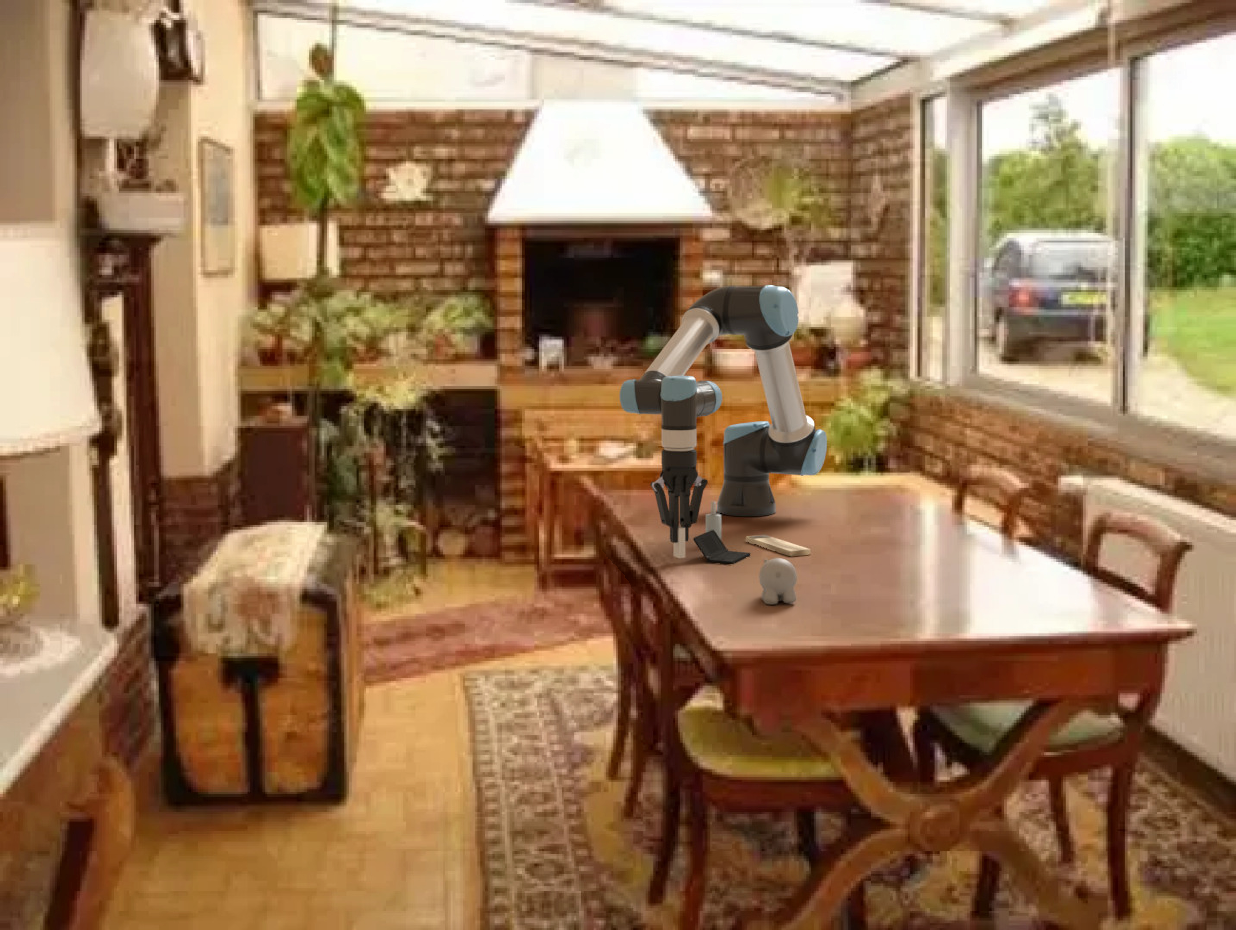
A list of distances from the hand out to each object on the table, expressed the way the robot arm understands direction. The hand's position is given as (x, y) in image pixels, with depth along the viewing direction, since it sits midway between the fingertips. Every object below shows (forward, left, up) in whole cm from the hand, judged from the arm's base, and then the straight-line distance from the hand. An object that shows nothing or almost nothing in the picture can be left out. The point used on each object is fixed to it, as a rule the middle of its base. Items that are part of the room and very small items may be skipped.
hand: (679, 556), depth 333 cm
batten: (-27, -5, -1) cm, 28 cm away
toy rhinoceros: (0, +40, -2) cm, 40 cm away
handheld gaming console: (-10, 0, -2) cm, 11 cm away
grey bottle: (-16, -15, -1) cm, 22 cm away
